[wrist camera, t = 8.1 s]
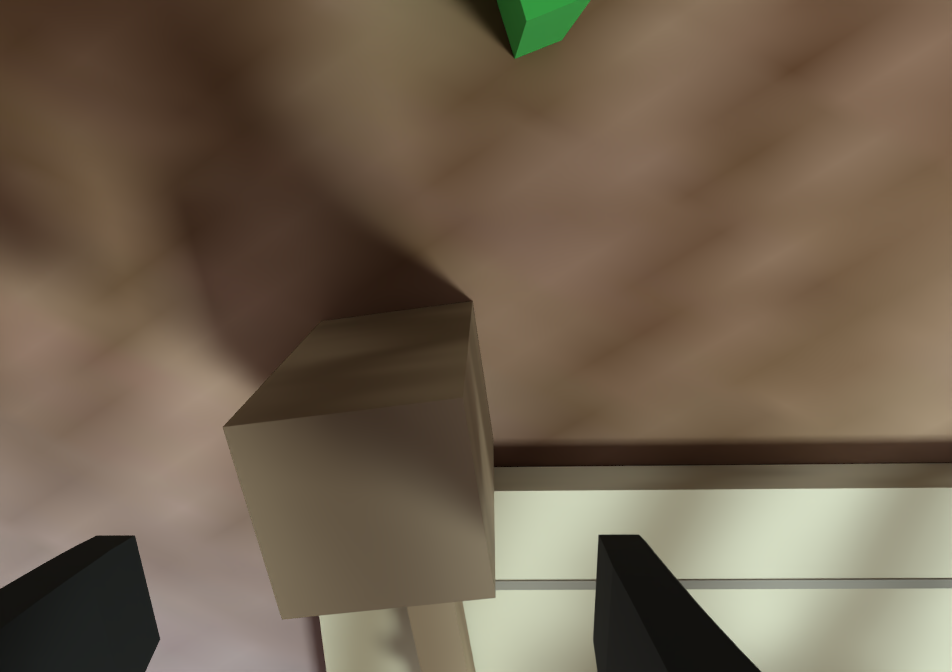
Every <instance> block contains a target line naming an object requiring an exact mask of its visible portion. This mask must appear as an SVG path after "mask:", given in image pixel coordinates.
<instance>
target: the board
mask: <svg viewBox="0 0 952 672" xmlns="http://www.w3.org/2000/svg"><path fill="white" fill-rule="evenodd" d="M494 520H495V587H496V598H490V599H480V600H470V601H463V607H464V612H465V618H466V623H467V628H468V634H469V639H470V644H471V650H472V655H473V660H474V666H475V671H476V672H597V665H596V658H595V651H594V644H593V630H594V611H595V592H596V573H597V554H598V535H611V534H639V535H640V536H641V537H642V538H643V539H644V540H645V541H646V542H647V543H648V545H649V546H650V547H651V548H652V550H653V551H654V552H655V553H656V554H657V556H658V557H659V558H660V559H661V560H662V562H663V563H664V564H665V565H666V566H667V568H668V569H669V570H670V571H671V572H672V574H673V575H674V576H675V577H676V578H677V580H678V581H679V582H680V583H681V584H682V585H683V587H684V588H685V589H686V590H687V591H688V592H689V594H690V595H691V596H692V597H693V598H694V599H695V601H696V602H697V603H698V604H699V605H700V606H701V607H702V608H703V610H704V611H705V612H706V613H707V614H708V615H709V616H710V617H711V618H712V620H713V621H714V622H715V623H716V624H717V625H718V626H719V627H720V628H721V629H722V630H723V631H724V633H725V634H726V635H727V636H728V637H729V638H730V639H731V640H732V641H733V642H734V643H735V644H736V646H737V647H738V648H739V649H740V650H741V651H742V652H743V653H744V654H745V655H746V656H747V657H748V658H749V659H750V660H751V661H752V662H753V663H754V664H755V665H756V667H757V668H758V669H759V670H760V671H761V672H952V463H912V464H799V465H686V466H574V467H494ZM319 618H320V626H321V634H322V641H323V649H324V656H325V664H326V672H421V668H420V664H419V659H418V655H417V650H416V646H415V642H414V637H413V633H412V628H411V624H410V619H409V615H408V610H407V607H401V608H391V609H381V610H371V611H361V612H351V613H341V614H331V615H321V616H319Z"/></svg>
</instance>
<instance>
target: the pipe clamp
mask: <svg viewBox="0 0 952 672" xmlns="http://www.w3.org/2000/svg"><path fill="white" fill-rule="evenodd" d="M589 2H590V0H497V4H498V7H499V10H500V13H501V16H502V20H503V23H504V26H505V29H506V32H507V36H508V39H509V42H510V45H511V48H512V52H513V55H514V58H518V57H521V56H523V55H526V54H528V53H531V52H533V51H536V50H538V49H541V48H543V47H546V46H548V45H551V44H553V43H556V42H558V41H561V40H562V39H563V38H564V36H565V35H566V34H567V32H568V31H569V29H570V28H571V27H572V25H573V24H574V22H575V21H576V20H577V18H578V17H579V16H580V14H581V13H582V11H583V10H584V9H585V7H586V6H587V4H588V3H589Z"/></svg>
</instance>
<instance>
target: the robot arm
mask: <svg viewBox="0 0 952 672" xmlns="http://www.w3.org/2000/svg"><path fill="white" fill-rule="evenodd" d="M159 640H160V637H159V633H158V628H157V624H156V620H155V616H154V612H153V608H152V604H151V600H150V596H149V592H148V587H147V583H146V579H145V575H144V571H143V567H142V563H141V559H140V555H139V551H138V546H137V542H136V538H135V536H95V537H93V538H91V539H89V540H87V541H85V542H83V543H81V544H79V545H77V546H75V547H73V548H71V549H69V550H68V551H66V552H64V553H62V554H60V555H58V556H57V557H55V558H53V559H51V560H50V561H48V562H46V563H44V564H42V565H41V566H39V567H37V568H35V569H34V570H32V571H30V572H29V573H27V574H25V575H23V576H22V577H20V578H18V579H16V580H15V581H13V582H11V583H10V584H8V585H6V586H4V587H3V588H1V589H0V672H145V671H146V669H147V667H148V664H149V662H150V660H151V658H152V656H153V653H154V651H155V649H156V647H157V645H158V642H159ZM593 644H594V651H595V658H596V665H597V672H761V671H760V670H759V669H758V668H757V667H756V665H755V664H754V663H753V662H752V661H751V660H750V659H749V658H748V657H747V656H746V655H745V654H744V653H743V652H742V651H741V650H740V649H739V648H738V647H737V646H736V644H735V643H734V642H733V641H732V640H731V639H730V638H729V637H728V636H727V635H726V634H725V633H724V631H723V630H722V629H721V628H720V627H719V626H718V625H717V624H716V623H715V622H714V621H713V620H712V618H711V617H710V616H709V615H708V614H707V613H706V612H705V611H704V610H703V608H702V607H701V606H700V605H699V604H698V603H697V602H696V601H695V599H694V598H693V597H692V596H691V595H690V594H689V592H688V591H687V590H686V589H685V588H684V587H683V585H682V584H681V583H680V582H679V581H678V580H677V578H676V577H675V576H674V575H673V574H672V572H671V571H670V570H669V569H668V568H667V566H666V565H665V564H664V563H663V562H662V560H661V559H660V558H659V557H658V556H657V554H656V553H655V552H654V551H653V550H652V548H651V547H650V546H649V545H648V543H647V542H646V541H645V540H644V539H643V538H642V537H641V536H640V535H639V534H611V535H598V554H597V573H596V592H595V611H594V630H593Z"/></svg>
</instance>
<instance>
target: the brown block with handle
mask: <svg viewBox="0 0 952 672" xmlns="http://www.w3.org/2000/svg"><path fill="white" fill-rule="evenodd" d="M223 430H224V433H225V436H226V440H227V443H228V446H229V449H230V453H231V456H232V459H233V462H234V466H235V469H236V472H237V475H238V479H239V482H240V485H241V488H242V491H243V495H244V498H245V501H246V504H247V508H248V511H249V514H250V517H251V521H252V524H253V527H254V530H255V534H256V537H257V540H258V543H259V547H260V550H261V553H262V556H263V560H264V563H265V566H266V569H267V572H268V576H269V579H270V582H271V585H272V589H273V592H274V595H275V598H276V602H277V605H278V608H279V611H280V615H281V618H282V619H292V618H301V617H311V616H321V615H331V614H341V613H351V612H361V611H371V610H381V609H391V608H401V607H407V610H408V615H409V619H410V624H411V628H412V633H413V637H414V642H415V646H416V650H417V655H418V659H419V664H420V668H421V672H476V671H475V666H474V660H473V655H472V650H471V644H470V639H469V634H468V628H467V623H466V618H465V612H464V607H463V601H470V600H480V599H490V598H496V587H495V520H494V454H493V434H492V427H491V420H490V414H489V407H488V400H487V394H486V387H485V380H484V374H483V367H482V360H481V354H480V347H479V340H478V334H477V327H476V320H475V314H474V307H473V301H468V302H461V303H453V304H446V305H439V306H431V307H424V308H416V309H409V310H401V311H394V312H386V313H379V314H371V315H364V316H357V317H349V318H342V319H334V320H327V321H321V322H320V323H319V324H318V325H317V326H316V327H315V328H314V329H313V331H312V332H311V333H310V334H309V335H308V336H307V337H306V338H305V339H304V340H303V341H302V342H301V343H300V345H299V346H298V347H297V348H296V349H295V350H294V351H293V352H292V353H291V354H290V355H289V356H288V357H287V359H286V360H285V361H284V362H283V363H282V364H281V365H280V366H279V367H278V368H277V369H276V370H275V371H274V373H273V374H272V375H271V376H270V377H269V378H268V379H267V380H266V381H265V382H264V383H263V384H262V385H261V387H260V388H259V389H258V390H257V391H256V392H255V393H254V394H253V395H252V396H251V397H250V398H249V399H248V401H247V402H246V403H245V404H244V405H243V406H242V407H241V408H240V409H239V410H238V411H237V412H236V413H235V414H234V416H233V417H232V418H231V419H230V420H229V421H228V422H227V423H226V424H225V425H224V426H223Z"/></svg>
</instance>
